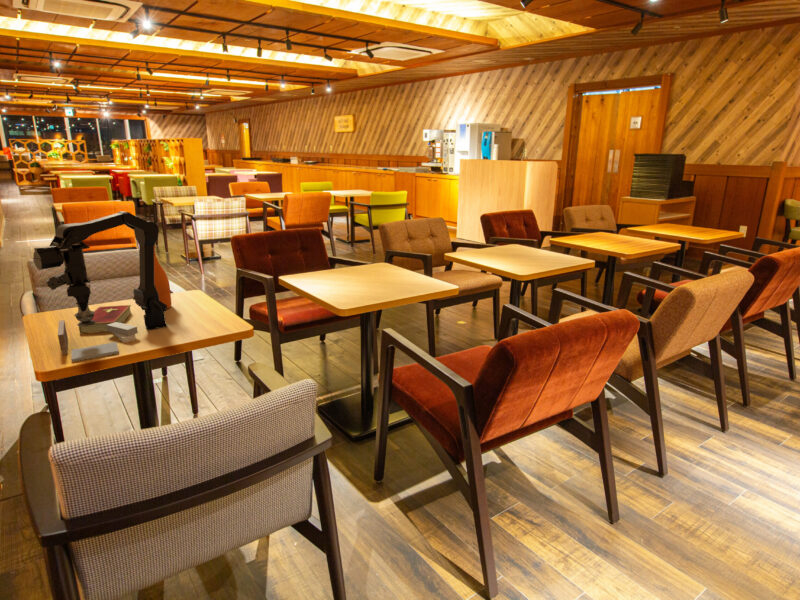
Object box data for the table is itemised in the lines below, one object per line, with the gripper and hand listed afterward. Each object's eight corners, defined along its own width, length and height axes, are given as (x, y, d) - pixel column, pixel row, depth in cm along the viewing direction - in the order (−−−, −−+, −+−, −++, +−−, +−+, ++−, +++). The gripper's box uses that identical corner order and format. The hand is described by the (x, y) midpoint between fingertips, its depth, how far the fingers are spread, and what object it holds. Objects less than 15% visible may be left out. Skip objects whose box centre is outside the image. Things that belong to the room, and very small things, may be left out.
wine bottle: (151, 304, 212) (141, 235, 203) (175, 304, 213) (166, 235, 204) (142, 312, 203) (131, 239, 194) (167, 311, 204) (157, 239, 195)
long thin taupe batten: (68, 338, 175) (64, 320, 173) (67, 354, 162) (63, 334, 160) (62, 339, 174) (58, 320, 172) (62, 355, 161) (57, 335, 159)
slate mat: (116, 344, 170) (116, 341, 170) (118, 353, 163) (118, 350, 162) (72, 352, 163) (71, 349, 163) (71, 362, 156) (71, 359, 156)
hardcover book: (80, 334, 180) (77, 323, 179) (99, 316, 199) (98, 306, 198) (116, 332, 182) (114, 321, 181) (132, 314, 202) (130, 304, 201)
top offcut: (117, 328, 180) (116, 321, 179) (137, 333, 176) (136, 326, 175) (107, 331, 177) (106, 324, 176) (128, 336, 172) (127, 329, 172)
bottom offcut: (125, 332, 183) (124, 326, 182) (136, 341, 174) (135, 335, 174) (113, 335, 180) (112, 329, 179) (123, 344, 172) (122, 337, 171)
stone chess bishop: (86, 327, 163) (80, 292, 160) (71, 325, 164) (64, 291, 161) (100, 321, 169) (94, 287, 165) (86, 320, 170) (79, 286, 166)
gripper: (46, 261, 164) (56, 305, 169) (42, 273, 149) (53, 321, 154) (85, 257, 170) (94, 300, 174) (86, 268, 154) (95, 315, 159)
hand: (83, 309), depth 165 cm, fingers closed on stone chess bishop, 3 cm apart
